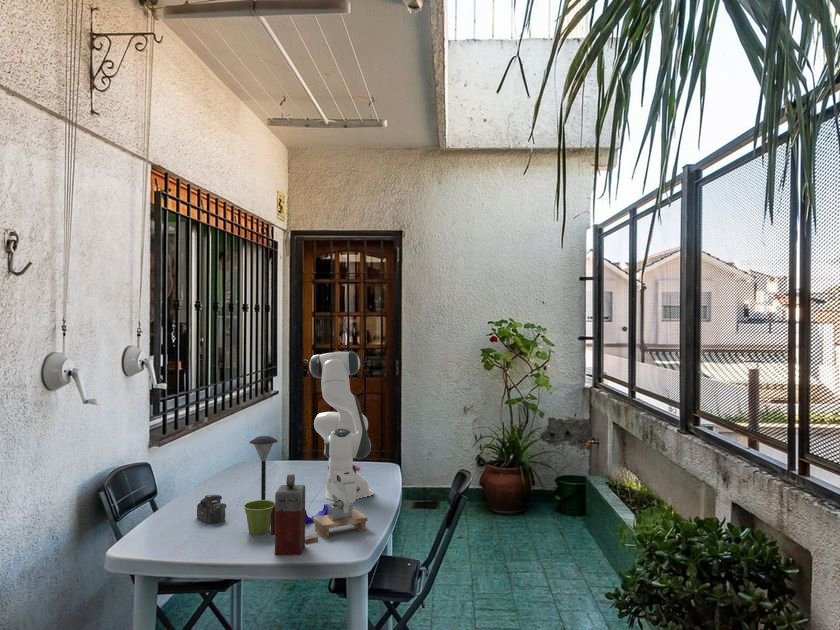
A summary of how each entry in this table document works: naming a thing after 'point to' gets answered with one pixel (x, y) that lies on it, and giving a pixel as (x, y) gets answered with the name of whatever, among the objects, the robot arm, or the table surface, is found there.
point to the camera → (211, 509)
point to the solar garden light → (263, 457)
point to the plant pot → (259, 516)
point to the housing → (338, 511)
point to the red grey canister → (289, 518)
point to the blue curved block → (321, 513)
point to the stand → (339, 523)
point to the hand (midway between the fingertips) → (340, 509)
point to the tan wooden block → (311, 538)
